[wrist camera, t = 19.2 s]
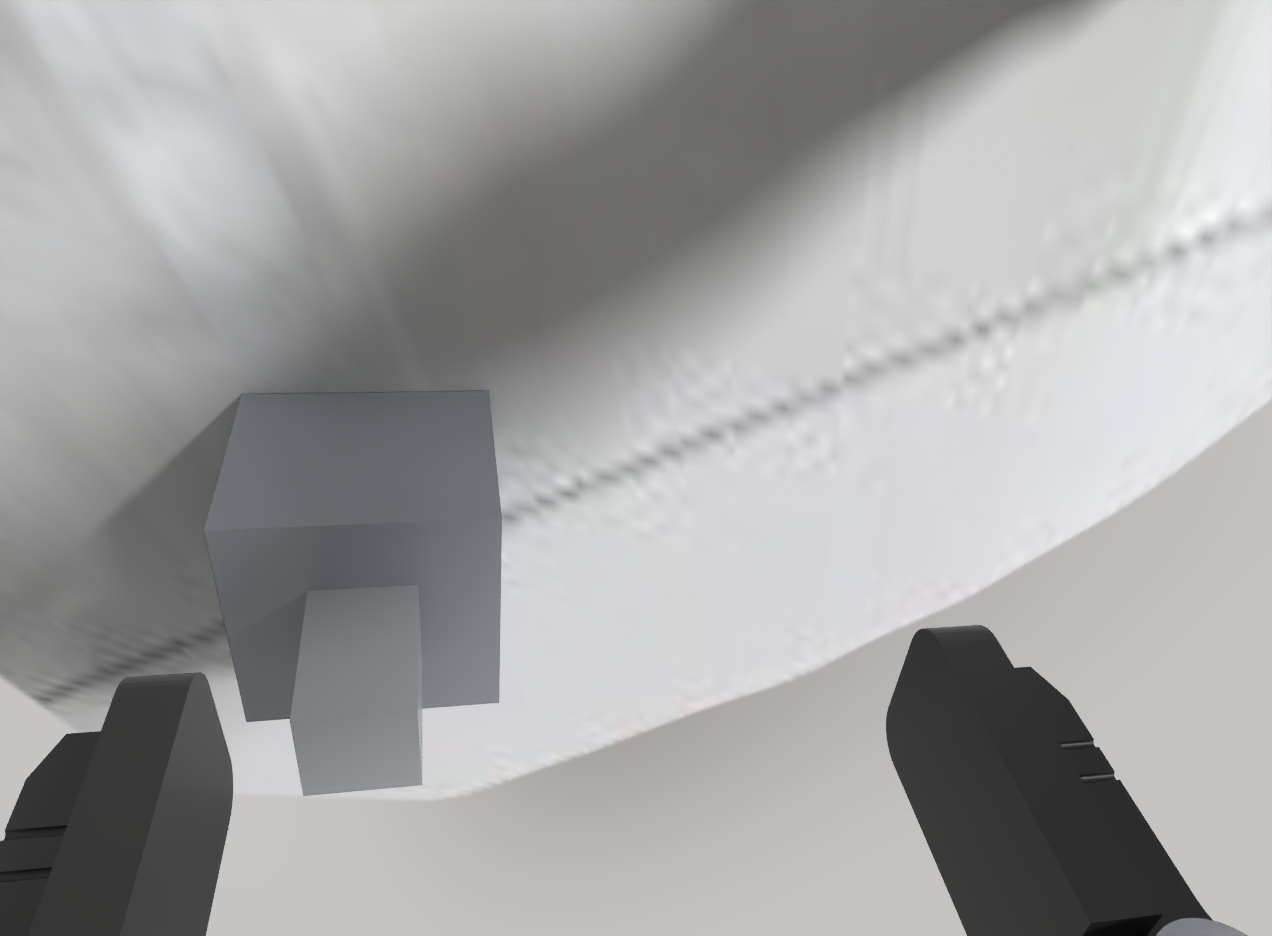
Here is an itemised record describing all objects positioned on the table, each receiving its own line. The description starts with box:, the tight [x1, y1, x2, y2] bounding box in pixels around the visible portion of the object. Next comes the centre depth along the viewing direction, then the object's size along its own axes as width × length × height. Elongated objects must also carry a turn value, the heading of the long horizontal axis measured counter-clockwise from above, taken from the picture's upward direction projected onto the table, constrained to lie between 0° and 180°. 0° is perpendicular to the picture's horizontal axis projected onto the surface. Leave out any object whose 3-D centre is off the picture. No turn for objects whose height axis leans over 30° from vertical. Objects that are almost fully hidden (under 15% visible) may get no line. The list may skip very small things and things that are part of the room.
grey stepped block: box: [204, 391, 502, 796], centre depth 38 cm, size 10×10×15 cm
